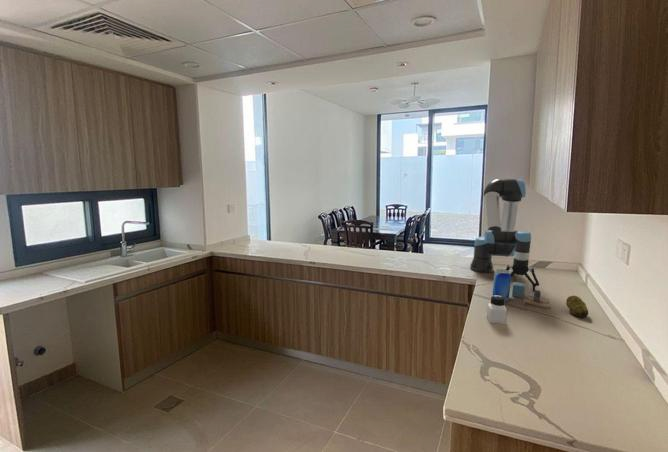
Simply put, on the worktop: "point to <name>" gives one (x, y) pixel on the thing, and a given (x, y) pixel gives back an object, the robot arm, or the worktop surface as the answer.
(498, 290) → the beer can
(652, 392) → the worktop surface
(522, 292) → the light blue chamfered box
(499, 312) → the medicine bottle
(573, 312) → the brown oval lump
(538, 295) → the tan square panel
